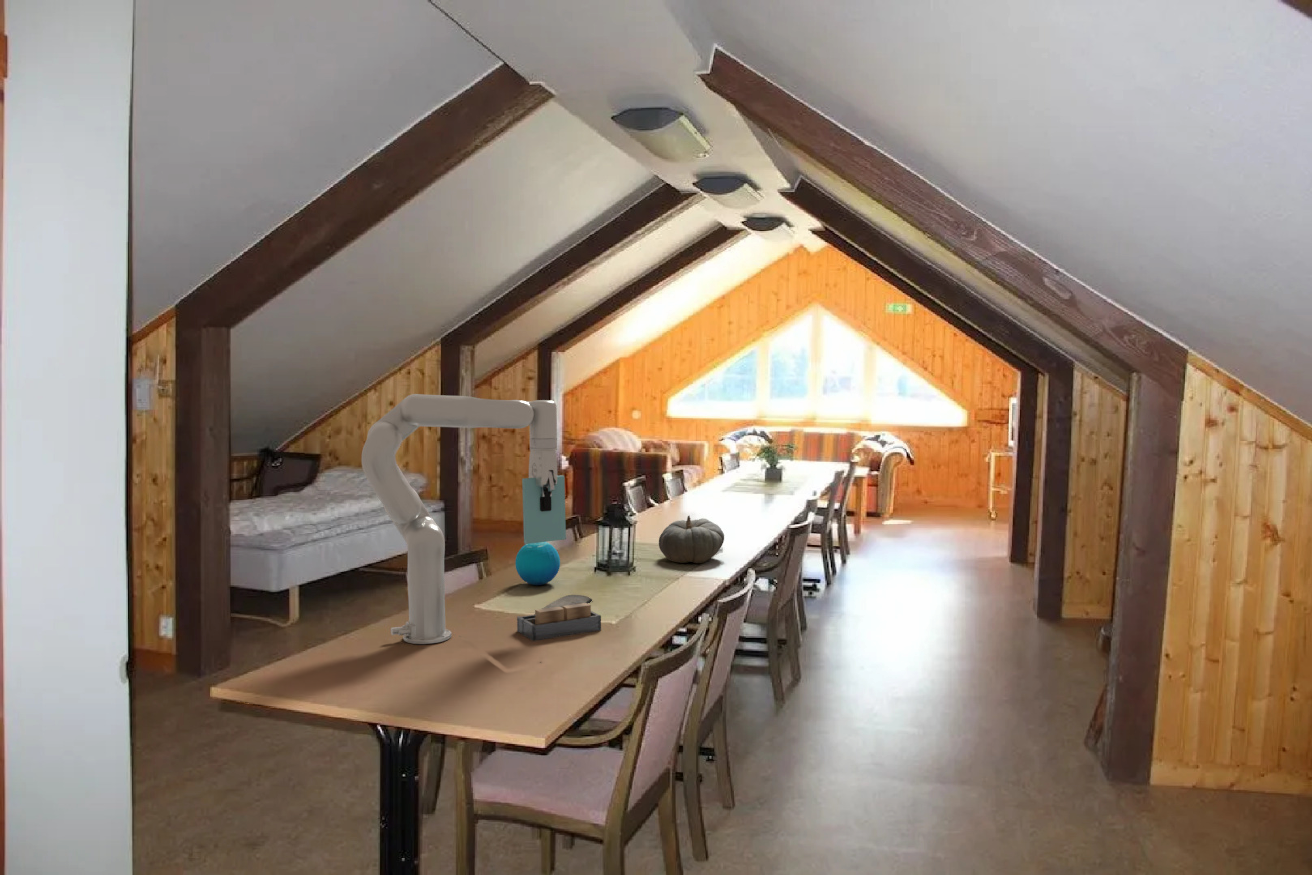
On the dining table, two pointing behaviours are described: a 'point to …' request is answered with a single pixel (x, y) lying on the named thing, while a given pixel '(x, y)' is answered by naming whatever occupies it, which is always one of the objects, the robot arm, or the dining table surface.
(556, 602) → the stone slab
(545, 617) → the left offcut block
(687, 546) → the gourd
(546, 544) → the decorative orb
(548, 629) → the metal rack
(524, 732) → the dining table surface
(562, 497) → the teal board
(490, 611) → the dining table surface
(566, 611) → the right offcut block
